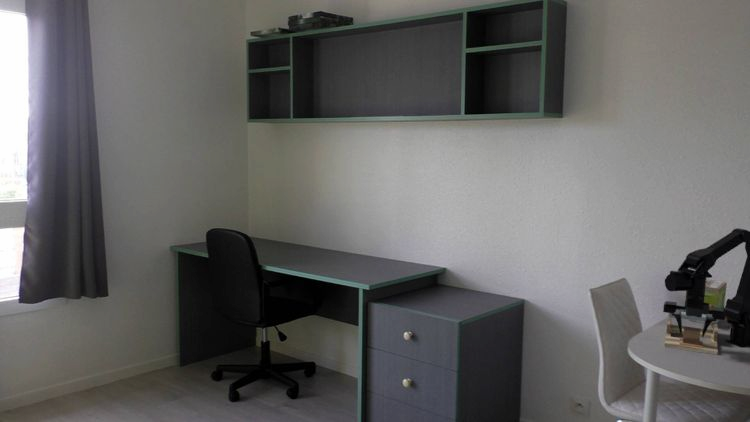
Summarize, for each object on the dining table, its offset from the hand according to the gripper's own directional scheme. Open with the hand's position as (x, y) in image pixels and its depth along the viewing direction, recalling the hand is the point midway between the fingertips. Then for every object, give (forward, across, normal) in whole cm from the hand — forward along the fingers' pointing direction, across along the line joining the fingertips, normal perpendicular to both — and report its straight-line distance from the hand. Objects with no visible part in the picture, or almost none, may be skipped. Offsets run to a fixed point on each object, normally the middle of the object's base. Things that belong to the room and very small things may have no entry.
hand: (691, 334), depth 219 cm
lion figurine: (+4, +10, +30) cm, 32 cm away
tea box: (+4, +5, +41) cm, 42 cm away
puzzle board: (+4, 0, +8) cm, 9 cm away
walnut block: (+2, 0, 0) cm, 2 cm away
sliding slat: (-1, 0, +19) cm, 19 cm away
